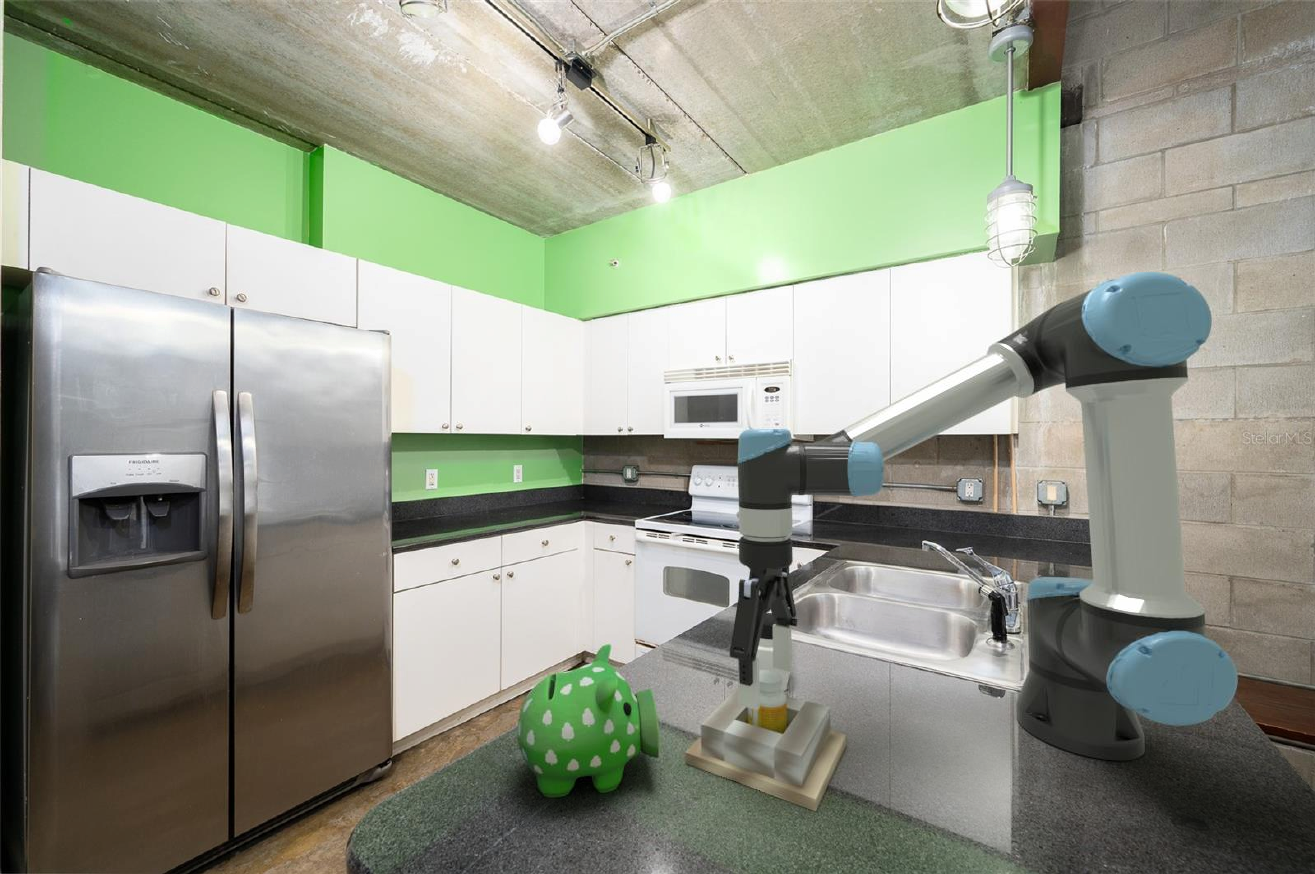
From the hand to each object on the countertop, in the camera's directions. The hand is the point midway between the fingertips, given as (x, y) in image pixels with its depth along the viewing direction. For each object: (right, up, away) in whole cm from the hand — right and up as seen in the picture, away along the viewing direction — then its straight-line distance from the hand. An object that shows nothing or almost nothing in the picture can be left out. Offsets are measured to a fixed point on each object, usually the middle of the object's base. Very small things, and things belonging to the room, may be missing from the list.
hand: (766, 686), depth 74 cm
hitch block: (0, -10, 0) cm, 10 cm away
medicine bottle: (+5, -10, +23) cm, 25 cm away
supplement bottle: (0, -8, 0) cm, 8 cm away
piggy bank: (-25, -10, -4) cm, 27 cm away
